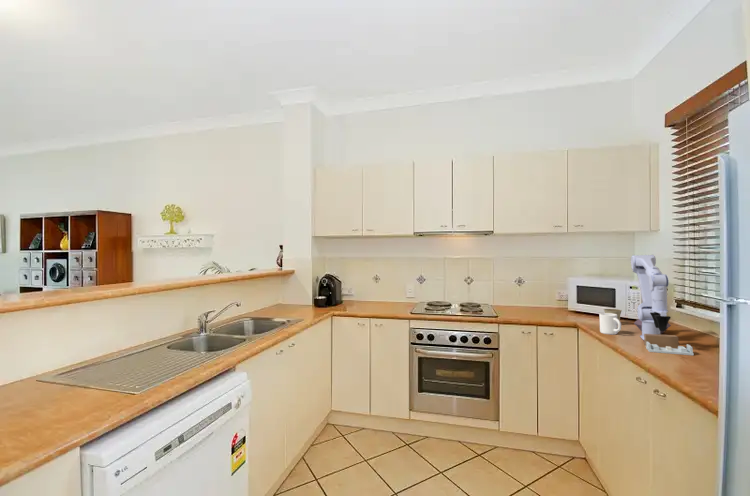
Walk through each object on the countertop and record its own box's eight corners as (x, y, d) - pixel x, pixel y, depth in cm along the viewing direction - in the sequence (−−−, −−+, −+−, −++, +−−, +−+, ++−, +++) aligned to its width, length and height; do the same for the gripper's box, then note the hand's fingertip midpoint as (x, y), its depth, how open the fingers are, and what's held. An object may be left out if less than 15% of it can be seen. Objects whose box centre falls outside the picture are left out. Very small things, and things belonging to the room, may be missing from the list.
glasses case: (644, 345, 171) (644, 333, 171) (676, 347, 165) (675, 335, 165) (646, 346, 167) (645, 335, 167) (678, 349, 162) (678, 337, 162)
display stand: (646, 347, 165) (645, 341, 165) (688, 351, 158) (688, 344, 158) (649, 351, 159) (649, 344, 159) (693, 355, 152) (693, 347, 152)
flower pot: (601, 322, 224) (600, 308, 225) (618, 322, 223) (617, 308, 223) (608, 325, 215) (607, 311, 215) (625, 325, 213) (624, 311, 213)
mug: (627, 335, 189) (627, 316, 189) (614, 336, 188) (613, 317, 188) (609, 331, 201) (608, 312, 201) (596, 331, 199) (595, 313, 200)
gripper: (645, 298, 175) (646, 325, 175) (652, 301, 162) (653, 331, 162) (663, 298, 172) (664, 326, 171) (671, 302, 159) (673, 333, 159)
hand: (660, 329), depth 166 cm, fingers open, 7 cm apart
